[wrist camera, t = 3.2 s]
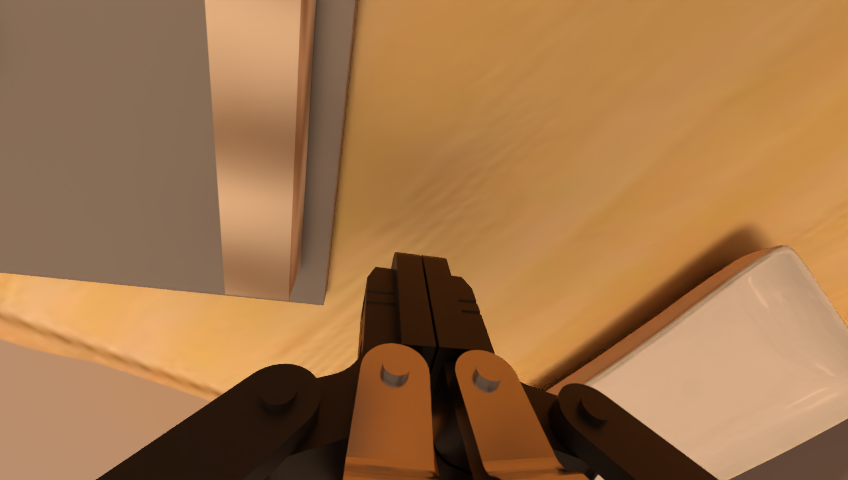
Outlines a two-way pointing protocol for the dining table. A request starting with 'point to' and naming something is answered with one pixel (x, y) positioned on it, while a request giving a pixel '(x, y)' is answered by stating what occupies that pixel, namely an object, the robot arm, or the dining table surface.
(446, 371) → the robot arm
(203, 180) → the board
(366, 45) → the dining table surface
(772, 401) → the square plate
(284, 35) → the arm link
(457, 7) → the dining table surface
